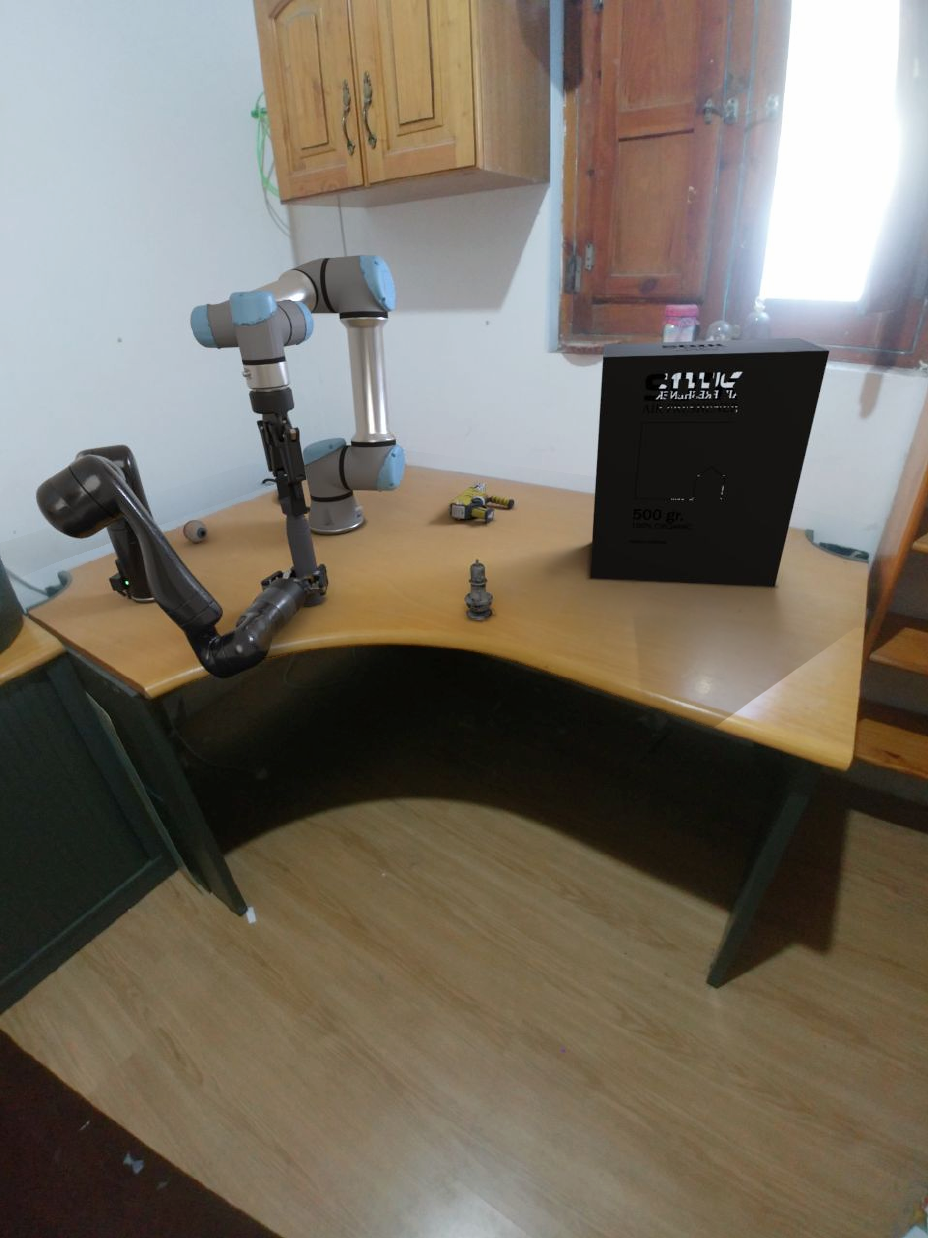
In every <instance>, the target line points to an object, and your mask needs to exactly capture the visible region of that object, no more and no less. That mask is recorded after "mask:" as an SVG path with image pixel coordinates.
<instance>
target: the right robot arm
mask: <svg viewBox="0 0 928 1238" xmlns="http://www.w3.org/2000/svg"><path fill="white" fill-rule="evenodd" d="M396 301H397V296H396V288H395V283H394V279H393V276H392V273H391V270H390V268H389V265H388V264H387V262H386V261H385V260H384V258H382V257H381V256H379V255H376V254H375V255H370V254H359V255H348V256H336V257H322V258H317V259H313V260H309V261H308V262H304V263H302V264H299V265H298V266H295V267H292V269H288V270H286V271H283V273H281V274H280V276H279V277H278V279H277V280H275V281H272V282H270V283H267V284H265V285H263V286H262V285H261V286H260V287H257V288H254V289H253V290H249V291H248V290H247V291H236V292H235V291H234V292H232V293H230V295H229V298H228V300H227V299H226V300H225V301H222V302H220V303H215V304H214V303H213V304H211V303H206V304H203V305H202V304H201V305H196V306H195V307H194V308H192V311H191V312H190V319H189V321H190V324H189V325H190V329H191V330H192V334H193V337H194V339H195V340H196V341H197V343H198V344H199V345H201V346H202V347H204V348H207V349H218V350H221V349H230V348H231V349H234V348H238V349H239V353H240V357H241V363H242V367H243V371H242V372H241V375H242V377H243V378H245V381H246V386H247V388H248V389H251V390H250V391H249V393H248V396H249V401H250V406H251V410H252V412H253V413H255V414H258V415H261V419H260V420H256V425H257V428H258V431H259V435H260V438H261V443H262V448H263V453H264V456H265V461H266V466H267V470H268V472H269V473H272V476H273V477H274V478H271V477H270V478H269V477H267V478H264V479H263V480H262V481H261V484H262V485H264V484H265V483H266V482H272V483H275V484H276V489H277V494H278V495H277V500H278V501H279V503H280V500H281V499H283V498H285V497H289V498H290V503H291V508H292V513H293V516H294V517H296V516H300V515H303V514H304V515H306V514H308V519H307V522H308V525H309V527H310V531H311V532H312V533H314V534H317V535H323V536H324V535H325V536H327V535H329V536H331V535H339V534H340V535H341V534H345V533H350V532H353V531H355V530H357V529H359V528H361V527H362V526H363V525H364V523H365V519H364V514H363V512H362V509H364V507H363V504H360V505H359V504H358V501H357V500H356V498H355V495H354V491H369V492H371V491H372V492H373V491H374V492H379V493H381V492H391V491H392V492H393V491H395V490H396V489H398V487H400V485H401V482H402V481H403V478H404V473H405V469H406V468H405V467H406V454H405V450H404V448H403V446H401V445H400V444H397V437H396V436H395V435H394V434H393V433H392V432H391V430H390V419H389V406H388V405H389V404H388V389H387V374H386V360H385V343H384V326H386V324H387V323H388V322H389V313H391V312H392V311H393V310H395V308H396ZM313 314H338V317H339V322H340V323H341V324H342V325H343V326H344V327H345V328H346V334H347V347H348V358H349V368H350V380H351V381H350V383H351V391H352V403H353V414H354V415H353V416H354V425H355V433H354V434H353V435H352V436H351V438H350V444H347V441H346V439H345V438H343V437H331V438H327V439H326V438H325V439H322V440H318V441H315V442H313V443H309V444H308V445H306V446H305V447H304V448H303V450H302V446H301V440H300V438H301V435H300V434H301V433H300V429H299V427H293V426H292V425H293V424H292V423H291V420H290V417H289V414H288V413H289V412H290V411H292V410H294V409H295V401H294V396H293V390H292V388H291V387H290V386H289V385H291V378H290V372H289V366H288V361H287V359H286V354H285V348H286V347H291V346H295V345H296V346H299V345H301V344H302V343H304V342H306V341H308V340H309V339H310V337H311V336H312V335H313V332H314V328H315V323H314V317H313ZM303 481H307V486H308V492H309V498H310V506H307V504H306V499H305V492H304V488H303V483H302V482H303ZM280 505H281V503H280ZM308 511H309V513H308Z"/></svg>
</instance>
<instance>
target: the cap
mask: <svg viewBox="0 0 928 1238" xmlns="http://www.w3.org/2000/svg"><path fill="white" fill-rule="evenodd" d="M279 503H281V504H280V508H281V512H282V514H283V515H284V516H286V515H293V513H292V508H291V503H290V498H289V497H285V498H283V499H281V500H280V501H279Z"/></svg>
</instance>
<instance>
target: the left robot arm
mask: <svg viewBox="0 0 928 1238" xmlns="http://www.w3.org/2000/svg"><path fill="white" fill-rule="evenodd" d="M140 474H141V473H140V469H139V466H138V462H137V460H136V457H135V454H134V453H133V451H132V449H131V448H130V447H129V446H128V445H126V444H114V445H113V444H112V445H107V446H100V447H93V448H87V449H83V450H80V451H79V452H77V453H76V455H75V457H74V460H73V461H71V462H70V463H69V464H68V466H67V467H65V468H63V469H62V470H60V471H59V472H57V473H56V474H54V475H52V476H51V477H49V478H48V479H46V480H44V481H43V482H42V483H41V484H40V485H39V486H37V489H36V492H35V500H36V505H37V507H38V509H39V511H40V513H41V514H42V516H43V517H44V519H45V520H46V521H47V522H48V523H49V524H50V525H51V527H53V528H54V529H55V530H56V531H57V532H60V533H61V534H63V535H65V536H68V537H70V538H74V539H81V540H83V539H88V538H90V537H92V536H94V535H96V534H97V533H99V532H101V531H102V530H103V529H106V531H107V535H108V536H109V539H110V542H111V544H112V548H113V550H114V552H115V556H116V559H114V564H115V567H116V569H117V572H116V573H114V574H113V575H112V576H111V577H108V582H109V583H110V586H111V589H112V591H113V592H116V593H118V594H119V595H121V596H122V597H123V598H125V597H127V598H128V600H132V601H133V602H134V603H137V604H150V603H154V602H155V603H156V604H157V606H158V607H159V609H161V610H162V611H163V613H165V615H167V617H168V618H169V619H171V621H172V622H173V623H174V624H175V625H176V626H177V627H178V628H179V629H180V630H181V631H182V632H183V634H184V636H185V638H186V640H187V642H188V644H189V646H190V647H191V650H192V652H193V653H194V655H195V657H196V658H197V660H198V663H199V664H200V666H201V667H202V668H203V669H204V670H205V671H206V672H207V673H208V674H210V675H211V676H213V677H216V678H218V679H229V678H232V677H234V676H236V675H239V674H241V673H244V672H246V671H248V670H250V669H253V668H255V667H257V666H258V665H260V663H262V662H263V661H264V660H265V659H266V658H267V656H268V654H269V652H270V650H271V647H272V644H273V641H274V639H275V638H276V637H277V635H278V634H279V633H280V632H281V631H282V630H283V629H284V628H285V627H286V626H288V625H289V623H290V622H291V621H292V620H293V619H294V617H295V616H296V615H297V614H298V612H300V610H301V609H302V608H303V606H304V605H303V604H304V602H305V599H306V598H307V597H308V596H310V595H311V594H312V593H317V592H318V593H319V594H320V596H323V597H324V596H326V594H327V591H328V587H329V579H328V571H327V566H326V565H325V563H320V564H319V565H317V569H316V570H315V571H314V572H312V573H311V574H309V573H307V574H305V575H303V576H301V577H300V578H296V575H295V571H294V566H293V565H292V566H291V567H290V568H289V569H286V570H285V571H284V572H283V571H282V570H277V571H274V572H273V573H272V574H270V575H269V576H267V577H265V578H264V579H263V580H261V581H260V585H261V590H262V591H261V592H260V593H259V594H258V595H257V597H255V598H254V600H253V601H252V603H251V604H250V605H249V606H248V607H247V608H246V609H245V610H244V611H243V612H242V614H240V616H239V617H238V619H237V621H236V624H235V628H234V629H232V630H230V631H228V632H226V633H224V634H222V635H221V634H220V633H219V631H218V628H217V627H216V625H217V624H218V623H219V622H221V621H220V620H221V619H222V618H223V614H224V612H223V611H224V609H223V607H222V606H221V605H220V604H219V602H218V601H217V599H216V598H214V596H213V595H212V594H211V593H210V592H209V591H208V589H207V588H206V587H205V586H204V585H203V584H202V582H201V581H200V580H199V579H197V577H196V576H195V575H194V574H193V572H191V570H190V569H189V568H188V566H187V565H186V564H185V562H184V561H183V560H182V559H181V557H180V556H179V554H178V553H177V551H176V549H174V547H173V545H172V544H171V542H170V541H169V539H168V538H167V537H166V535H165V534H164V532H163V531H162V529H161V528H160V527H159V526H158V524H157V523H156V521H155V519H154V516H153V514H152V510H151V508H150V504H149V501H148V499H147V496H146V492H145V489H144V485H143V481H142V478H141V475H140ZM314 577H315V581H314ZM124 591H125V592H124Z"/></svg>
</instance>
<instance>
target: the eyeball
mask: <svg viewBox="0 0 928 1238" xmlns="http://www.w3.org/2000/svg"><path fill="white" fill-rule="evenodd" d="M182 534H183V537H185V539H186V540H187V541H188V542H191V543H195V544H196V543H197V544H198V543H201V542H203V541H204V540H205V539H206V538H207V536H208V527H207V525H206V524H205V523H203V522H202V521H200V520H197V519H193V520H189V521H187V522H186V523H185V524H184V525H183V528H182Z"/></svg>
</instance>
